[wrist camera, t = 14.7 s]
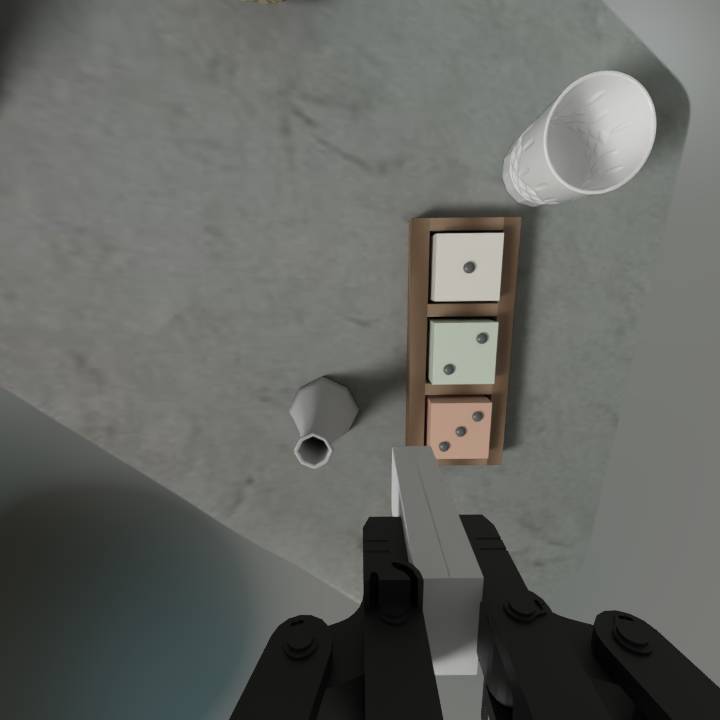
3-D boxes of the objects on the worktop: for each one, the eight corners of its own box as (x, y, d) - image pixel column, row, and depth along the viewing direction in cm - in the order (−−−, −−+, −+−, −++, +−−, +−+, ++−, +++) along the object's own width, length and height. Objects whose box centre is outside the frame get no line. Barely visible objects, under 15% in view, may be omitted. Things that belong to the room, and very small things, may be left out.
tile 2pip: (426, 375, 41) (432, 385, 37) (428, 318, 39) (434, 323, 36) (483, 375, 41) (494, 384, 37) (487, 318, 39) (499, 322, 36)
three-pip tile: (424, 445, 43) (429, 460, 39) (425, 393, 41) (431, 404, 38) (478, 444, 43) (488, 459, 39) (482, 392, 41) (492, 403, 38)
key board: (405, 454, 44) (408, 465, 41) (409, 221, 38) (412, 218, 35) (493, 453, 44) (501, 464, 41) (511, 220, 38) (521, 216, 35)
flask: (277, 410, 42) (253, 452, 33) (322, 364, 41) (310, 393, 32) (326, 452, 44) (316, 504, 34) (370, 408, 42) (374, 450, 33)
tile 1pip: (428, 298, 39) (435, 301, 36) (430, 236, 38) (437, 233, 34) (488, 298, 39) (500, 300, 36) (492, 235, 38) (505, 232, 34)
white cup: (501, 122, 36) (553, 67, 26) (585, 125, 36) (668, 72, 26) (490, 211, 38) (536, 191, 28) (570, 215, 38) (644, 196, 28)
